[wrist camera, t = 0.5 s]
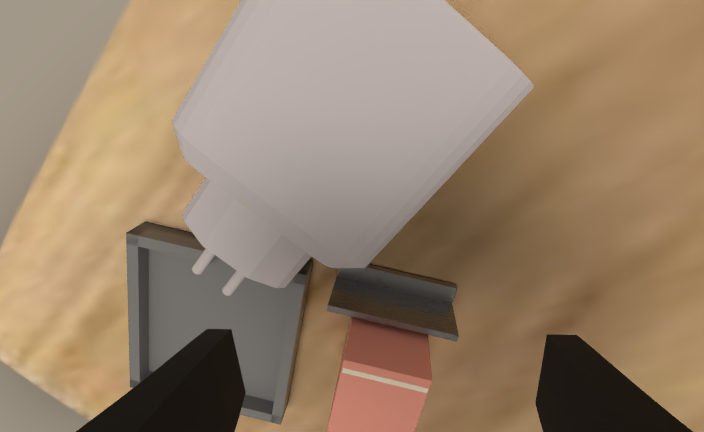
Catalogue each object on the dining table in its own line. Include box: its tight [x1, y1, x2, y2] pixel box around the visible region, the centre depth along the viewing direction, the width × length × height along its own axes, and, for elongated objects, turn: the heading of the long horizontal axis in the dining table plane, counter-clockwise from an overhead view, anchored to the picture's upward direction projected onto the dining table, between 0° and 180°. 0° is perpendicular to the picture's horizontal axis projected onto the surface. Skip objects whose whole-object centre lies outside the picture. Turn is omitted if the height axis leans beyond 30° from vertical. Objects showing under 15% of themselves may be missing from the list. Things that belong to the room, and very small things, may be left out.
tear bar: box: [327, 264, 459, 341], centre depth 19 cm, size 1×6×3 cm, turn 79°
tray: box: [126, 222, 313, 425], centre depth 22 cm, size 10×9×2 cm
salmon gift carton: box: [327, 316, 432, 432], centre depth 19 cm, size 4×4×6 cm
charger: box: [172, 0, 534, 296], centre depth 16 cm, size 5×9×15 cm
